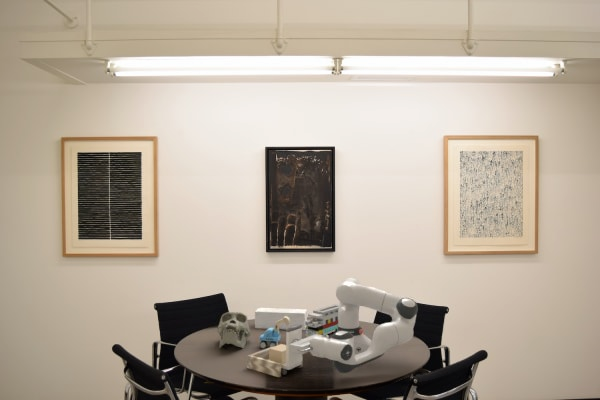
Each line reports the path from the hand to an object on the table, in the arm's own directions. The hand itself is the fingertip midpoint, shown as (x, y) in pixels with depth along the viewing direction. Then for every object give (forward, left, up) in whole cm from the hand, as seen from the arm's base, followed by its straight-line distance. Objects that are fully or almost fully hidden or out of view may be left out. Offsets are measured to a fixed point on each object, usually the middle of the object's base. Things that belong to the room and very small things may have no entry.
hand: (294, 340), depth 227 cm
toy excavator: (+20, -37, -16) cm, 44 cm away
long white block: (+27, -78, -16) cm, 84 cm away
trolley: (+6, -4, -15) cm, 17 cm away
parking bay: (+11, -6, -15) cm, 20 cm away
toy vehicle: (-3, -69, -16) cm, 71 cm away
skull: (+44, -35, -16) cm, 58 cm away
